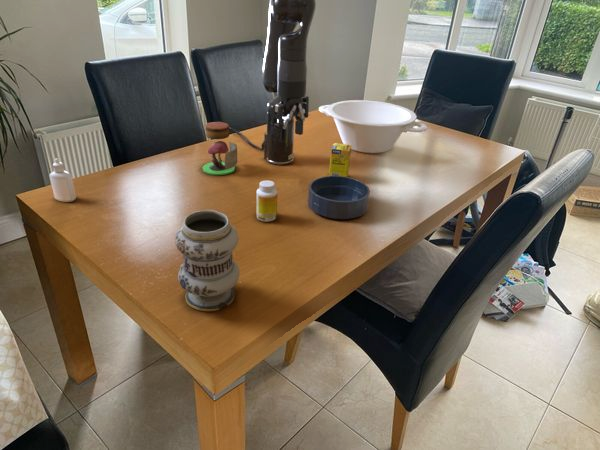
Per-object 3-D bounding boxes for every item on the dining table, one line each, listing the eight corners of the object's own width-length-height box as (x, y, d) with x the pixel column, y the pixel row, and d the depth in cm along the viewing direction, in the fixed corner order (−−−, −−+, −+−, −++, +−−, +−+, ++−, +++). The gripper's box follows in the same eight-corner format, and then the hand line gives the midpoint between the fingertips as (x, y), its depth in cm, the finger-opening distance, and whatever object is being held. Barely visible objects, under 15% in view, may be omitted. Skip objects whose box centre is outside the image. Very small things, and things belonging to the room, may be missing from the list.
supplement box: (346, 183, 145) (349, 150, 140) (328, 180, 146) (330, 148, 140) (348, 175, 150) (351, 144, 145) (330, 173, 151) (333, 142, 145)
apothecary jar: (205, 324, 85) (199, 244, 76) (168, 295, 92) (158, 219, 83) (252, 296, 93) (251, 220, 84) (214, 271, 100) (211, 199, 91)
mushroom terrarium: (201, 178, 142) (198, 132, 135) (200, 163, 153) (198, 119, 146) (239, 176, 145) (238, 131, 137) (235, 162, 156) (234, 119, 148)
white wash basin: (434, 146, 180) (440, 113, 174) (405, 173, 155) (411, 135, 148) (337, 124, 199) (340, 93, 192) (297, 145, 173) (298, 110, 167)
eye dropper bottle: (62, 204, 123) (52, 164, 117) (53, 198, 126) (43, 157, 120) (78, 200, 126) (69, 159, 120) (69, 193, 129) (60, 154, 123)
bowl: (296, 208, 128) (297, 189, 125) (327, 188, 140) (328, 171, 137) (349, 228, 120) (351, 208, 117) (377, 205, 132) (380, 186, 129)
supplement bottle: (280, 220, 121) (281, 186, 116) (260, 224, 119) (261, 189, 114) (271, 211, 126) (272, 177, 121) (253, 214, 124) (253, 180, 118)
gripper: (294, 72, 124) (293, 129, 132) (264, 79, 113) (264, 141, 121) (318, 75, 120) (315, 134, 128) (288, 83, 110) (287, 147, 117)
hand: (290, 137), depth 125 cm, fingers open, 8 cm apart
